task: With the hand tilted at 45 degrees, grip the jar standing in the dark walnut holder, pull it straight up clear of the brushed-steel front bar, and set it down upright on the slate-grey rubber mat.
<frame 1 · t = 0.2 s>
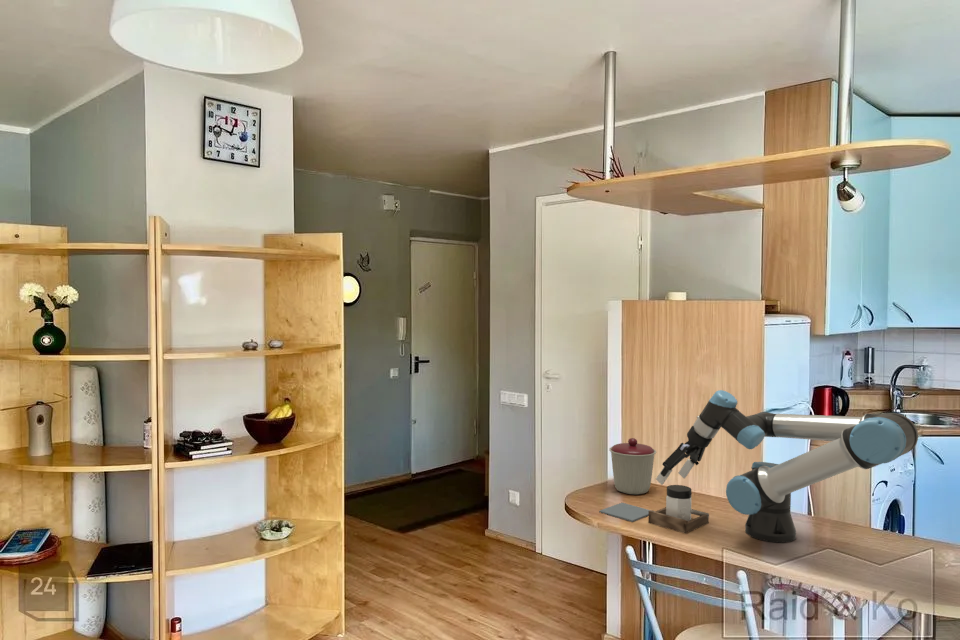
hand: (670, 478, 226), 15 cm above the breakfast bar, tool tilted 35°, fingers open, 13 cm apart
canister: (632, 491, 263), on the breakfast bar
mat: (627, 512, 236), on the breakfast bar
jar holder: (678, 522, 226), on the breakfast bar
jar: (678, 523, 226), resting in jar holder
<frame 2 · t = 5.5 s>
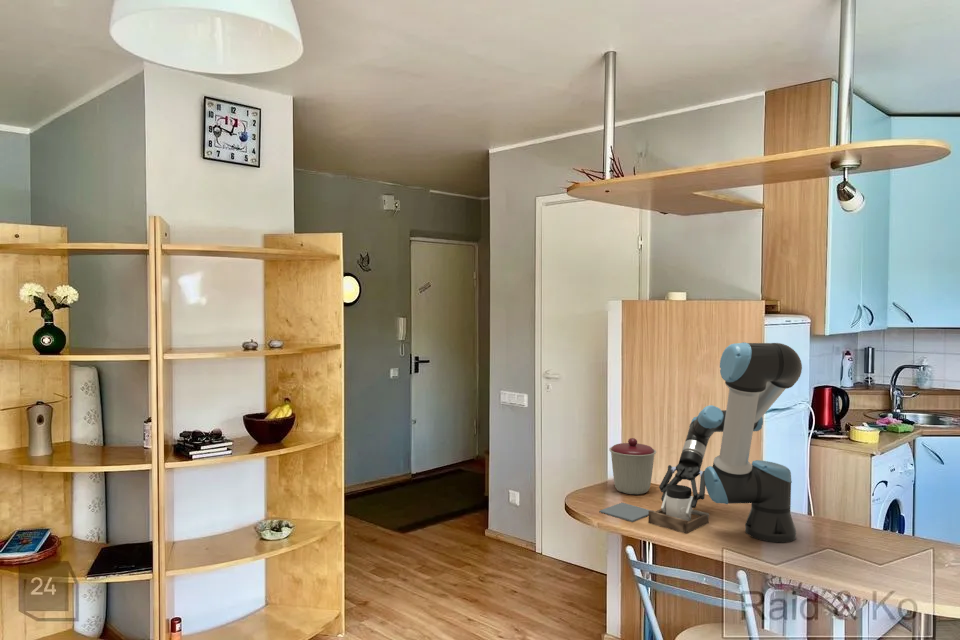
hand: (675, 512, 223), 4 cm above the breakfast bar, tool tilted 45°, fingers closed on jar, 8 cm apart
jar: (678, 523, 226), resting in jar holder, touching gripper
everything else where it was.
when the fingers open (6 cm above the breakfast bar, at t = 11.5 s): jar drops 1 cm, resting on mat.
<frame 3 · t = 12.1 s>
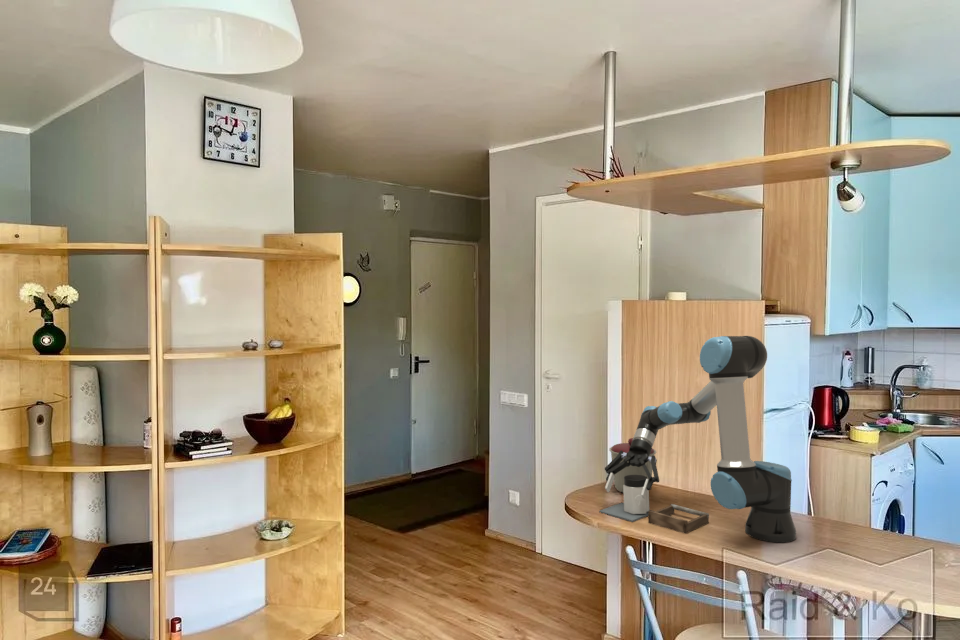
hand: (624, 493, 234), 7 cm above the breakfast bar, tool tilted 45°, fingers open, 13 cm apart
jar: (636, 511, 236), point 1 cm above the breakfast bar, touching gripper, mat
everything else where it was.
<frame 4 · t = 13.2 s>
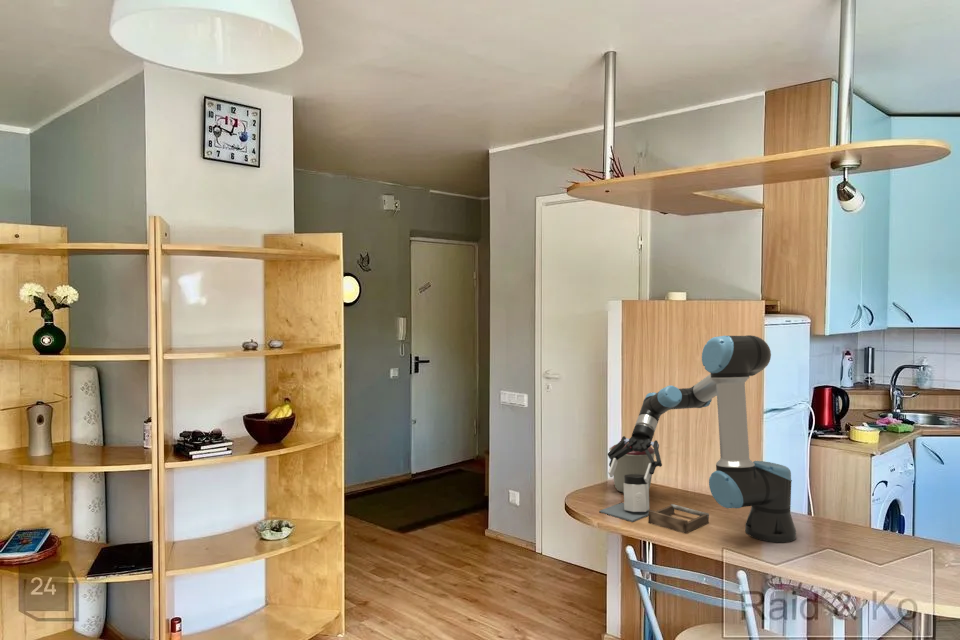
hand: (627, 478, 237), 12 cm above the breakfast bar, tool tilted 45°, fingers open, 13 cm apart
jar: (636, 510, 236), point 1 cm above the breakfast bar, touching mat
everything else where it was.
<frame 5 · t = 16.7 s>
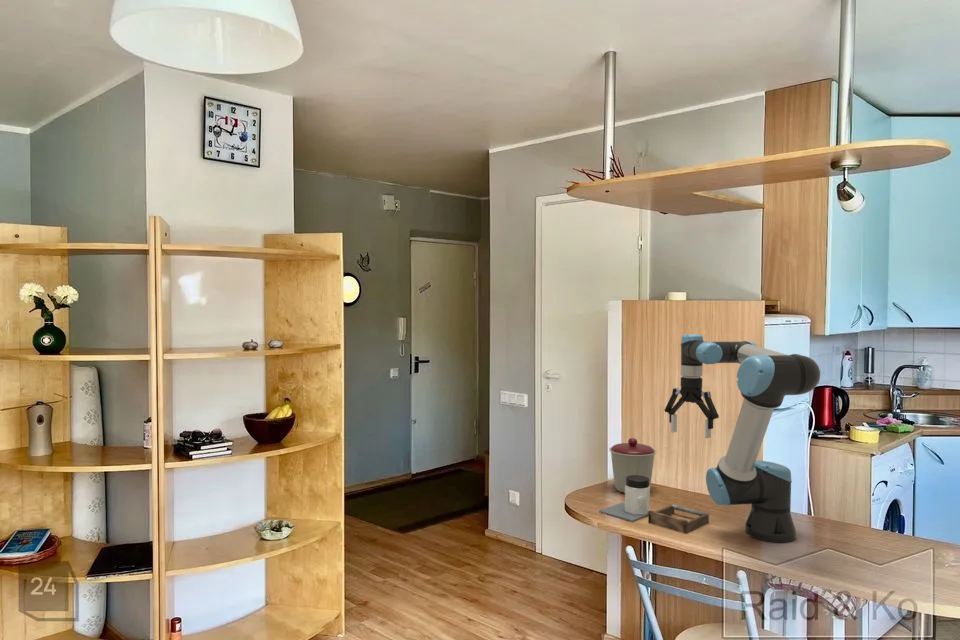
hand: (690, 434, 241), 27 cm above the breakfast bar, tool pointing down, fingers open, 13 cm apart
at the end: jar inside the target area on the mat (3.5 cm from its centre), point 0.4 cm above the mat's base; jar tilted 0°; the gripper is holding nothing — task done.
